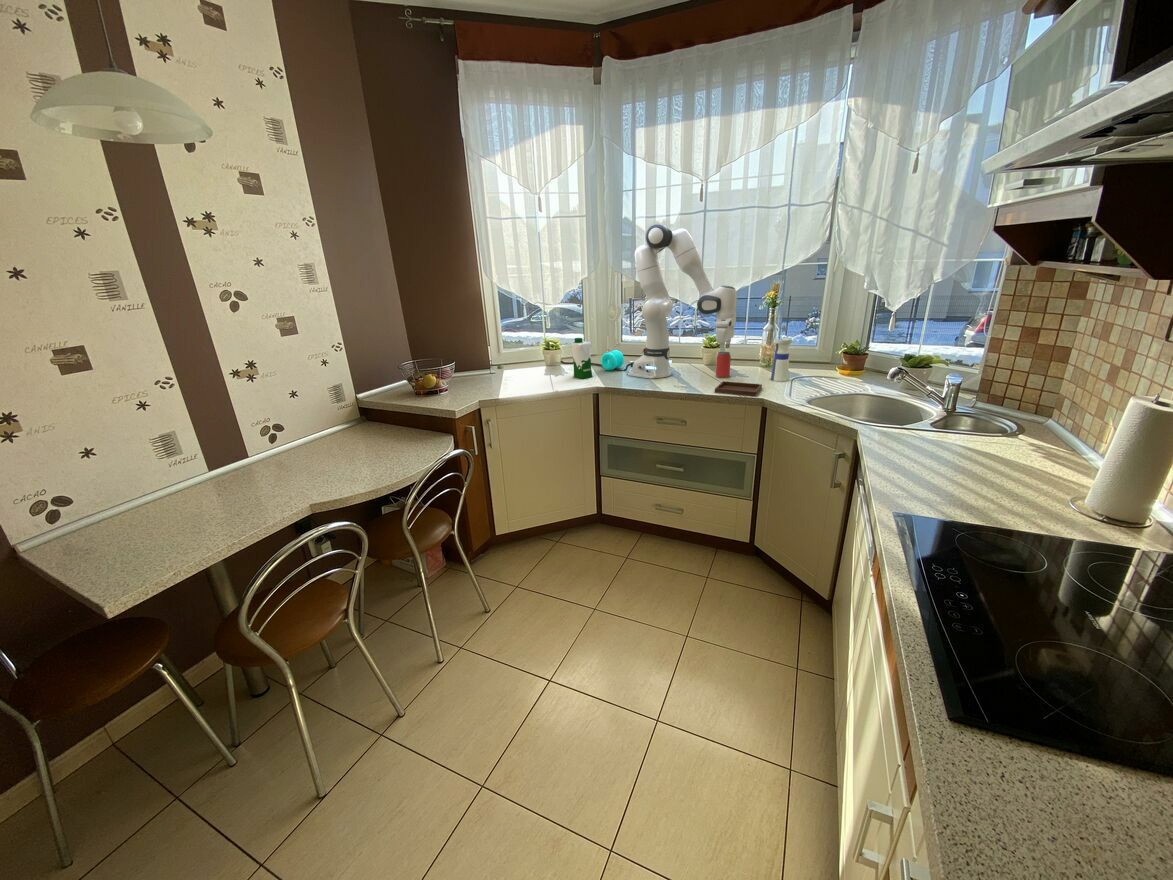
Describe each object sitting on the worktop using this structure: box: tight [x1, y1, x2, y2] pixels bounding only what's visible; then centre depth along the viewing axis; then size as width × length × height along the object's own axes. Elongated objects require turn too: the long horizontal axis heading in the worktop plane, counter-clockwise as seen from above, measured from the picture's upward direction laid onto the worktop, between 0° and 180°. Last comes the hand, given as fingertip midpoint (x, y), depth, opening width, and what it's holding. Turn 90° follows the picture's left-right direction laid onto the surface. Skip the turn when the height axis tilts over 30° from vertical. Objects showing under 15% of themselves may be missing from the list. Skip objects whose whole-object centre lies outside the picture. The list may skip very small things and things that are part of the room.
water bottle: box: [770, 325, 793, 382], centre depth 224 cm, size 8×9×25 cm
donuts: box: [600, 349, 625, 372], centre depth 262 cm, size 10×10×10 cm
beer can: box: [715, 351, 732, 379], centre depth 236 cm, size 7×7×12 cm
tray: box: [714, 380, 763, 398], centre depth 213 cm, size 18×14×2 cm
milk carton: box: [570, 337, 593, 380], centre depth 247 cm, size 9×9×20 cm
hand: (725, 349), depth 233 cm, fingers open, 8 cm apart
